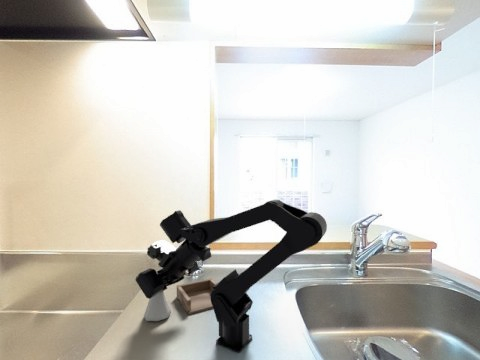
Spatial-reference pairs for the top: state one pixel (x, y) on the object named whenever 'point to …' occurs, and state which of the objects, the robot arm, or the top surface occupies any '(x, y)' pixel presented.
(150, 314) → the flask
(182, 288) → the wooden tray
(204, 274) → the top surface
